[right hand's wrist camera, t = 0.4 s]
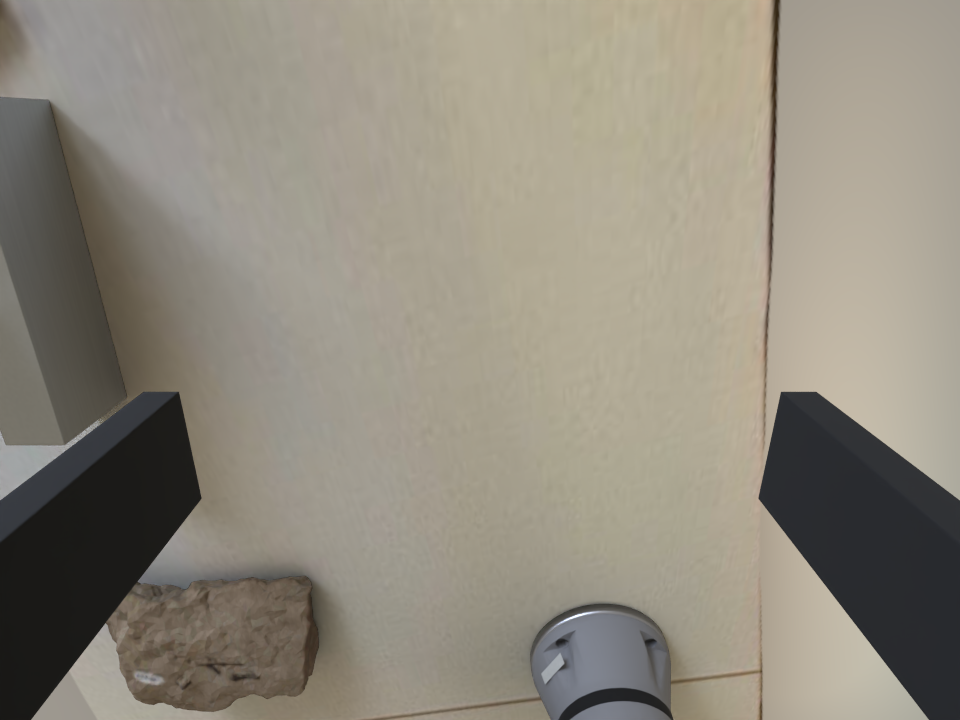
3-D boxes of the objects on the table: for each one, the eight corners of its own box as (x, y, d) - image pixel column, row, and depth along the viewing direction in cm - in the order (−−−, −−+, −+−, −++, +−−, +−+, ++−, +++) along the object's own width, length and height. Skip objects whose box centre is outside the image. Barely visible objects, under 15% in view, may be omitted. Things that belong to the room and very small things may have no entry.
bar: (127, 397, 52) (64, 445, 44) (77, 397, 52) (5, 445, 44) (49, 99, 43) (-49, 93, 35) (-13, 99, 43) (-124, 93, 35)
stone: (121, 692, 62) (94, 737, 56) (109, 566, 59) (79, 599, 53) (321, 671, 65) (315, 712, 60) (317, 551, 63) (311, 581, 57)
